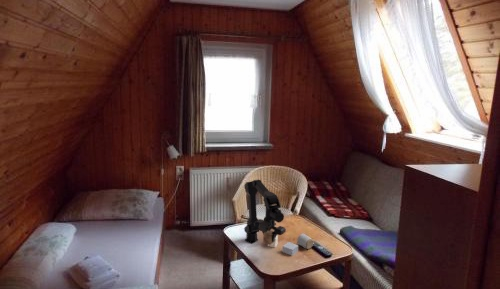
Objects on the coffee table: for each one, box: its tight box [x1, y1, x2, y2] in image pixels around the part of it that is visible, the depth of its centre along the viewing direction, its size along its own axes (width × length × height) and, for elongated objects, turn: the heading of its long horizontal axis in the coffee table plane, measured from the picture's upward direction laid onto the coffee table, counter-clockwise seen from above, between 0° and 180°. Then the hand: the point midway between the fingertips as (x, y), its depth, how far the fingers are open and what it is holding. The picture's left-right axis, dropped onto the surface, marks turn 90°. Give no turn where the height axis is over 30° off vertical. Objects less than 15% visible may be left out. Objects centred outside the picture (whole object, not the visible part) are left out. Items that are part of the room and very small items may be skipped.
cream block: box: [267, 234, 279, 248], centre depth 214 cm, size 5×5×6 cm
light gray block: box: [282, 241, 299, 256], centre depth 206 cm, size 7×7×4 cm
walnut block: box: [262, 230, 275, 245], centre depth 197 cm, size 5×5×6 cm
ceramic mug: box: [296, 233, 315, 250], centre depth 214 cm, size 11×8×8 cm
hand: (269, 240), depth 198 cm, fingers closed on walnut block, 5 cm apart
